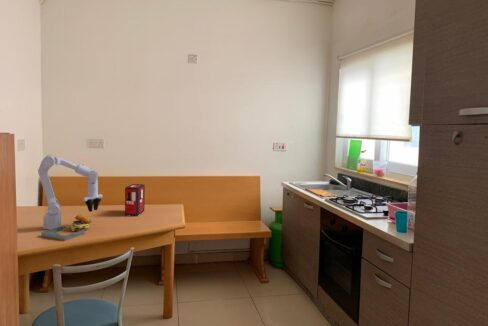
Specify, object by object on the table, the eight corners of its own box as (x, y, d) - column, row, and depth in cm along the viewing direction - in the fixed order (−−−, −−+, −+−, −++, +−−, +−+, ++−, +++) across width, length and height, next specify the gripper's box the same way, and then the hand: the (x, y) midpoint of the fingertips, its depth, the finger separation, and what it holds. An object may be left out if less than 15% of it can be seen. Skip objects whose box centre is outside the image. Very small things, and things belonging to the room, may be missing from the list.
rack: (41, 236, 208) (41, 231, 208) (62, 230, 222) (62, 225, 222) (64, 240, 202) (64, 235, 202) (84, 233, 216) (84, 228, 216)
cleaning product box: (132, 210, 278) (132, 183, 276) (144, 211, 278) (144, 184, 276) (124, 215, 261) (125, 187, 260) (137, 216, 261) (137, 188, 259)
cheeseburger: (66, 229, 222) (69, 213, 223) (82, 230, 231) (85, 214, 232) (76, 232, 217) (79, 215, 218) (92, 233, 225) (95, 216, 227)
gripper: (89, 191, 224) (89, 213, 225) (106, 188, 237) (106, 209, 238) (80, 190, 226) (80, 212, 227) (97, 187, 240) (97, 208, 241)
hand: (93, 210), depth 233 cm, fingers open, 4 cm apart
